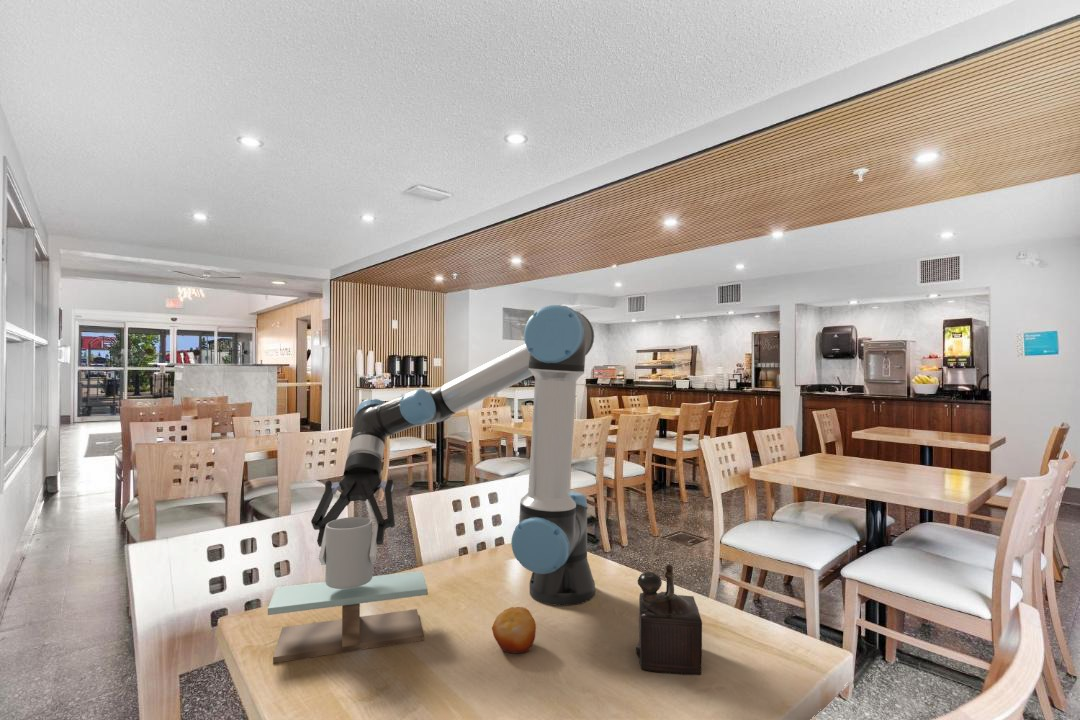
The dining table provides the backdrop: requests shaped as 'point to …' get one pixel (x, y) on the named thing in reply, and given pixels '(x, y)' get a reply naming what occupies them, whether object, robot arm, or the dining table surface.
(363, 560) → the mug
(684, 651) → the manual coffee grinder
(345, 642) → the fulcrum stand
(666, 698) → the dining table surface
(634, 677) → the dining table surface
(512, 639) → the fruit
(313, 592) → the plank
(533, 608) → the dining table surface
